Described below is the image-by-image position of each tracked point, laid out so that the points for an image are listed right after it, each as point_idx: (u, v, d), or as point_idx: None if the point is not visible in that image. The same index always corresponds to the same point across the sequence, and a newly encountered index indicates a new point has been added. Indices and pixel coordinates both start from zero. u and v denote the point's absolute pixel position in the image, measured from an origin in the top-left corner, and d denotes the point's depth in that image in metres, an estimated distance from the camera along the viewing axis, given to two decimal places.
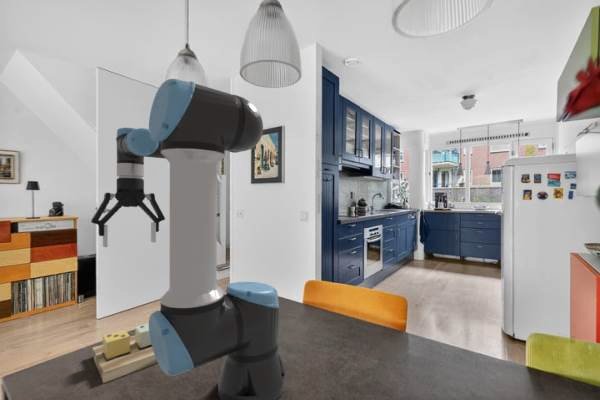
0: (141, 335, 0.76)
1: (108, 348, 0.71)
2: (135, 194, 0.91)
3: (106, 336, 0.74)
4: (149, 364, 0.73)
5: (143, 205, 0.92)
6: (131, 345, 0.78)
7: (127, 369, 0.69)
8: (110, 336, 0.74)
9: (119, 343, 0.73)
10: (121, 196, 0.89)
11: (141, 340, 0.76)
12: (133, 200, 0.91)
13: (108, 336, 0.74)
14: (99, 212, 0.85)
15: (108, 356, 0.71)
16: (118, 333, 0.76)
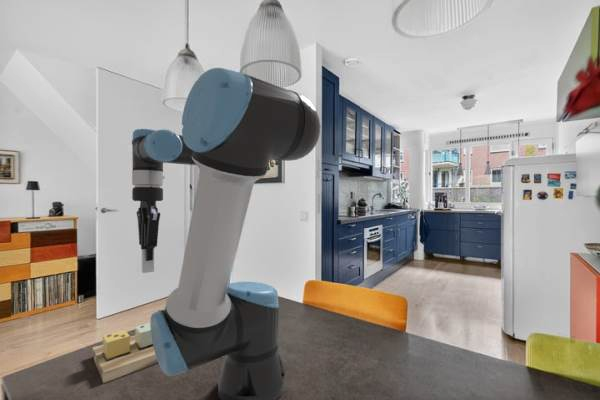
0: (141, 335, 0.76)
1: (108, 348, 0.71)
2: (145, 202, 0.77)
3: (106, 336, 0.74)
4: (149, 364, 0.73)
5: (142, 222, 0.77)
6: (131, 345, 0.78)
7: (127, 369, 0.69)
8: (110, 336, 0.74)
9: (119, 343, 0.73)
10: (140, 207, 0.80)
11: (141, 340, 0.76)
12: None
13: (108, 336, 0.74)
14: (139, 232, 0.81)
15: (108, 356, 0.71)
16: (118, 333, 0.76)
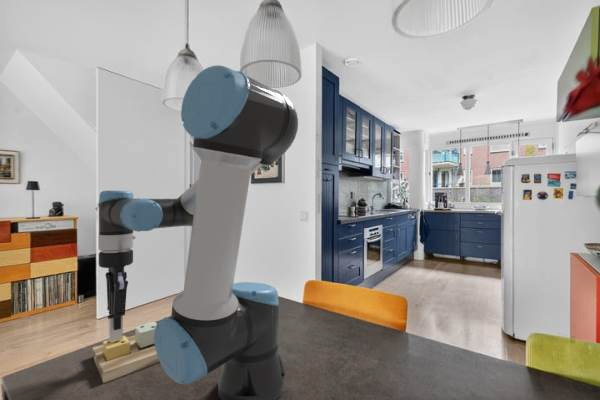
0: (141, 335, 0.76)
1: (108, 354, 0.71)
2: (113, 268, 0.72)
3: (106, 342, 0.74)
4: (149, 364, 0.73)
5: (109, 289, 0.72)
6: (131, 345, 0.78)
7: (127, 369, 0.69)
8: None
9: (119, 349, 0.73)
10: (109, 270, 0.75)
11: (141, 340, 0.76)
12: None
13: (108, 342, 0.74)
14: (107, 297, 0.76)
15: None
16: None
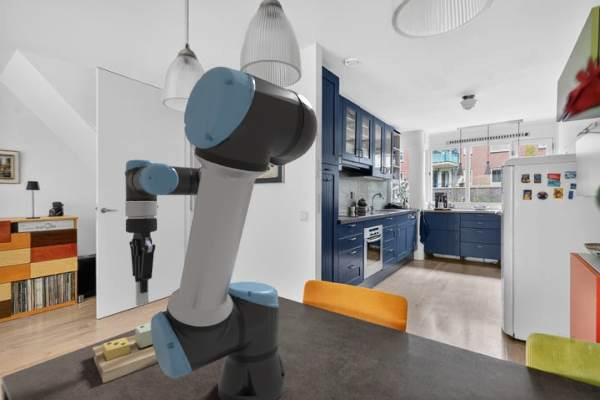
0: (141, 335, 0.76)
1: (108, 356, 0.71)
2: (140, 233, 0.76)
3: (106, 344, 0.74)
4: (149, 364, 0.73)
5: (136, 253, 0.76)
6: (131, 345, 0.78)
7: (127, 369, 0.69)
8: (110, 344, 0.74)
9: (119, 351, 0.73)
10: (134, 237, 0.79)
11: (141, 340, 0.76)
12: None
13: (108, 344, 0.74)
14: (132, 263, 0.80)
15: None
16: (118, 341, 0.76)
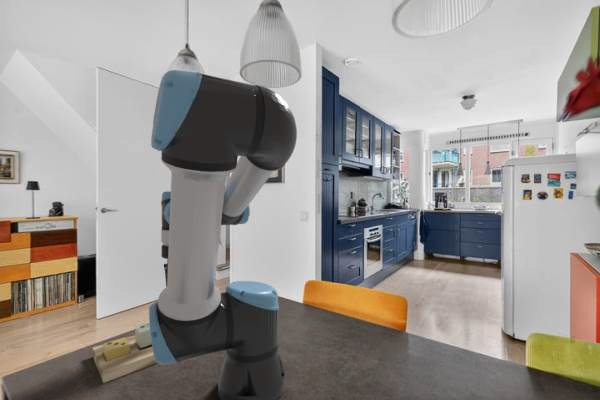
0: (141, 335, 0.76)
1: (108, 356, 0.71)
2: None
3: (106, 344, 0.74)
4: (149, 364, 0.73)
5: None
6: (131, 345, 0.78)
7: (127, 369, 0.69)
8: (110, 344, 0.74)
9: (119, 351, 0.73)
10: (168, 261, 0.86)
11: (141, 340, 0.76)
12: None
13: (108, 344, 0.74)
14: (166, 285, 0.87)
15: None
16: (118, 341, 0.76)
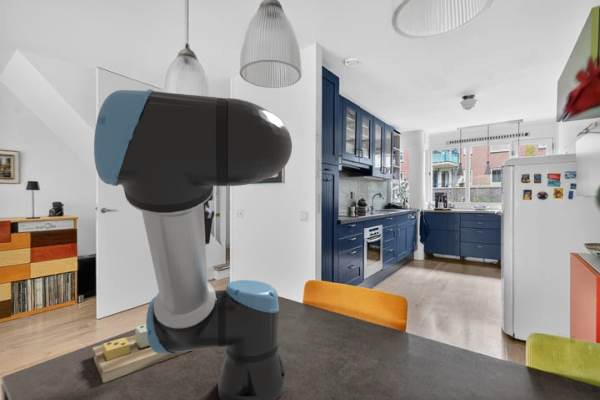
0: (141, 335, 0.76)
1: (108, 356, 0.71)
2: None
3: (106, 344, 0.74)
4: (149, 364, 0.73)
5: None
6: (131, 345, 0.78)
7: (127, 369, 0.69)
8: (110, 344, 0.74)
9: (119, 351, 0.73)
10: None
11: (141, 340, 0.76)
12: None
13: (108, 344, 0.74)
14: None
15: None
16: (118, 341, 0.76)
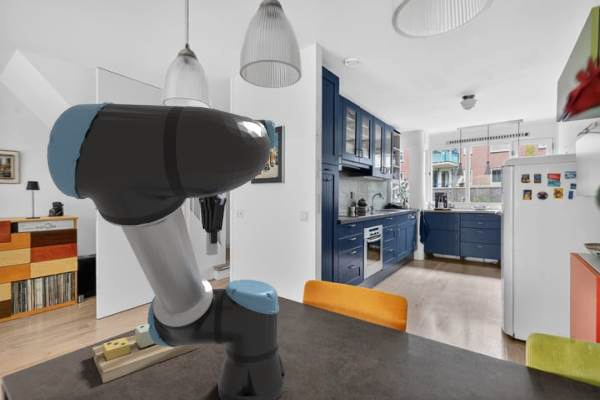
0: (141, 335, 0.76)
1: (108, 356, 0.71)
2: None
3: (106, 344, 0.74)
4: (149, 364, 0.73)
5: (208, 206, 0.82)
6: (131, 345, 0.78)
7: (127, 369, 0.69)
8: (110, 344, 0.74)
9: (119, 351, 0.73)
10: None
11: (141, 340, 0.76)
12: None
13: (108, 344, 0.74)
14: (202, 217, 0.86)
15: None
16: (118, 341, 0.76)
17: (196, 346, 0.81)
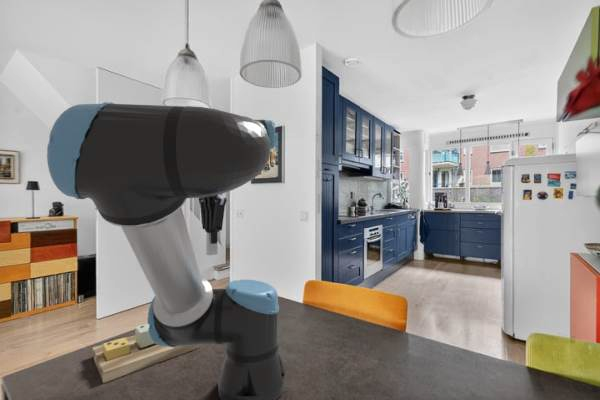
0: (141, 335, 0.76)
1: (108, 356, 0.71)
2: None
3: (106, 344, 0.74)
4: (149, 364, 0.73)
5: (208, 206, 0.82)
6: (131, 345, 0.78)
7: (127, 369, 0.69)
8: (110, 344, 0.74)
9: (119, 351, 0.73)
10: None
11: (141, 340, 0.76)
12: None
13: (108, 344, 0.74)
14: (202, 217, 0.86)
15: None
16: (118, 341, 0.76)
17: (196, 346, 0.81)
